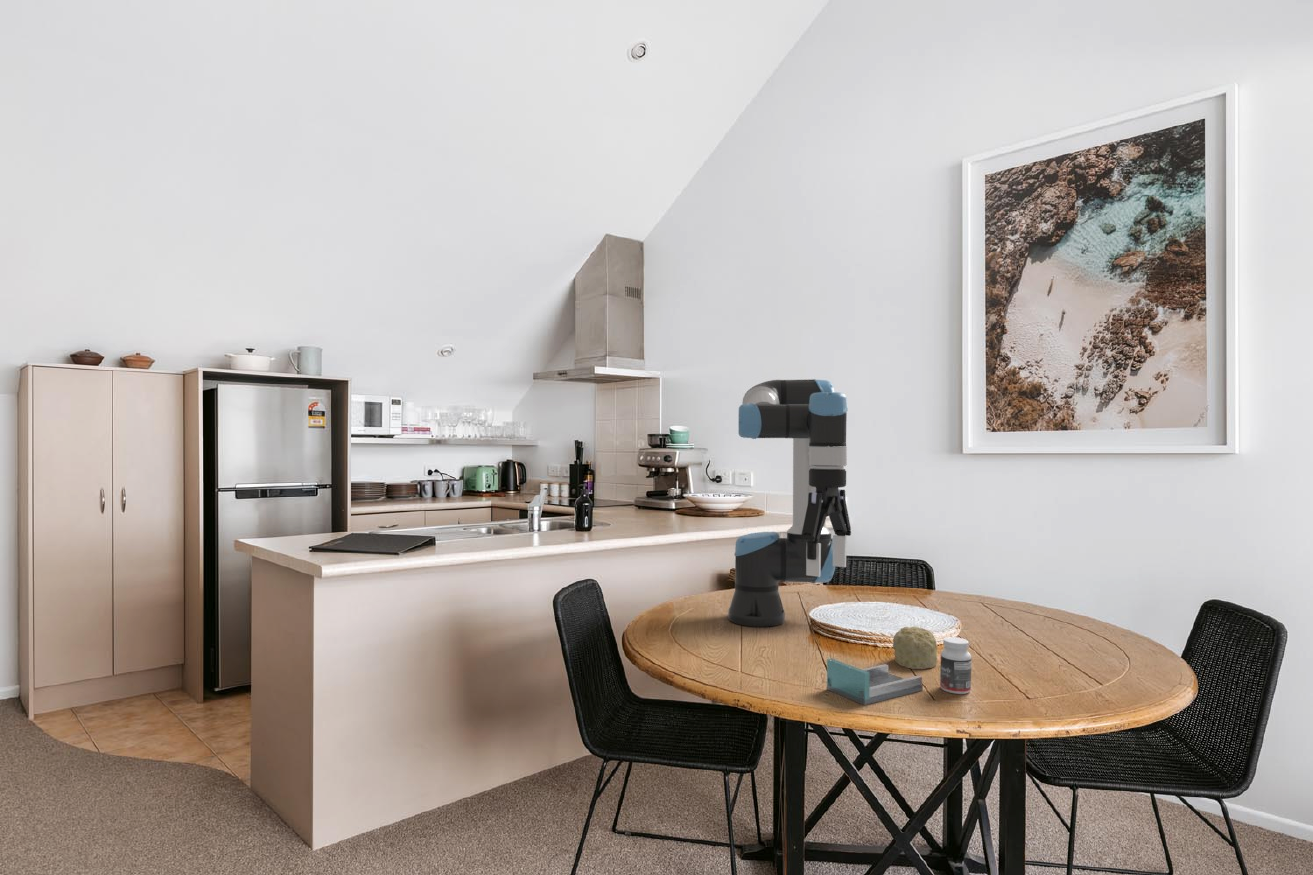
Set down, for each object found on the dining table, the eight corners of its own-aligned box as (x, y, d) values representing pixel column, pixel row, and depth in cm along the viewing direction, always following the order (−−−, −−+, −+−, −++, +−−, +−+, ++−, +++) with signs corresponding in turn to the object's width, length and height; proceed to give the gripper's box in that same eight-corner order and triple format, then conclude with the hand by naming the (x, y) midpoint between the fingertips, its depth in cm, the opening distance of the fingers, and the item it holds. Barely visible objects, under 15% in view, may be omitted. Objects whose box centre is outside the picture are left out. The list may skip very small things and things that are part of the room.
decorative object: (939, 678, 169) (934, 634, 175) (940, 664, 161) (935, 619, 167) (895, 678, 172) (891, 635, 177) (894, 665, 164) (890, 620, 169)
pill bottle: (935, 685, 155) (935, 636, 154) (962, 684, 155) (962, 635, 155) (948, 695, 149) (948, 644, 149) (976, 694, 149) (977, 643, 149)
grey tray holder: (883, 676, 160) (884, 647, 160) (922, 690, 151) (922, 660, 151) (826, 689, 152) (827, 659, 152) (864, 705, 143) (864, 673, 143)
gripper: (833, 465, 170) (832, 561, 170) (784, 468, 149) (783, 577, 149) (866, 466, 165) (865, 564, 165) (820, 470, 145) (819, 582, 145)
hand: (826, 571), depth 157 cm, fingers open, 13 cm apart
